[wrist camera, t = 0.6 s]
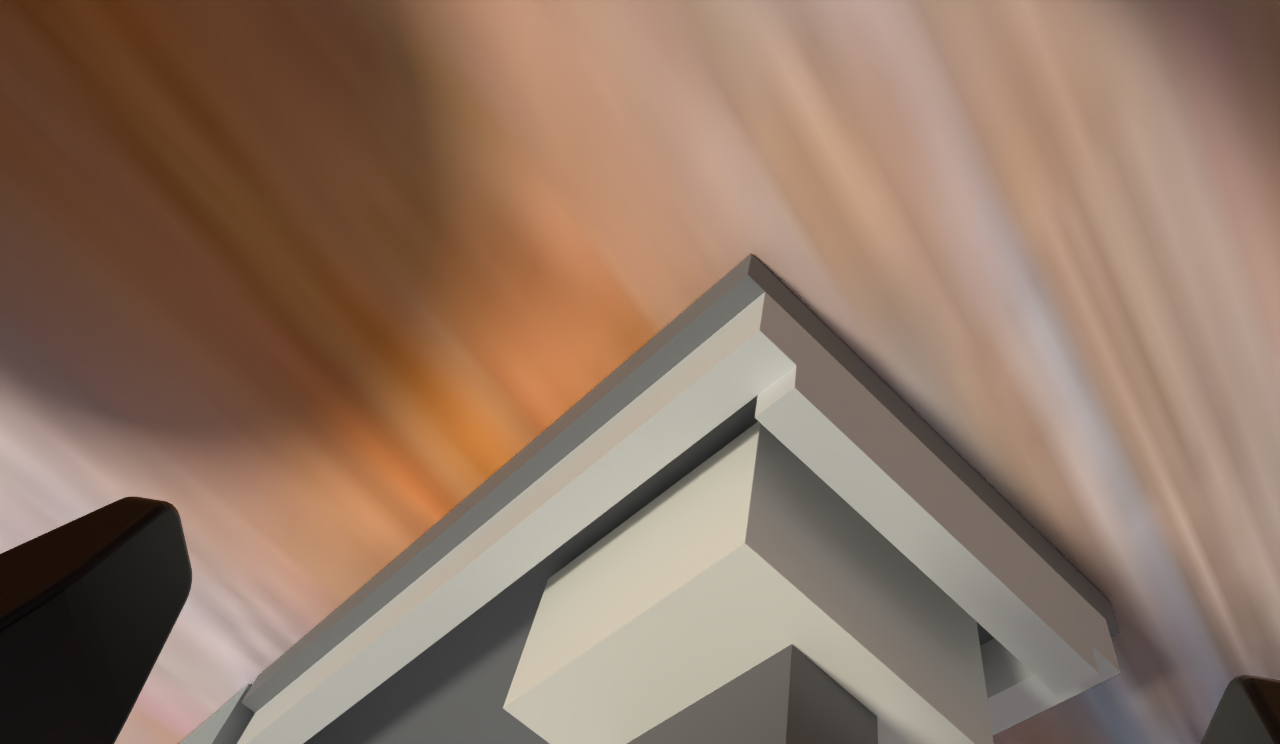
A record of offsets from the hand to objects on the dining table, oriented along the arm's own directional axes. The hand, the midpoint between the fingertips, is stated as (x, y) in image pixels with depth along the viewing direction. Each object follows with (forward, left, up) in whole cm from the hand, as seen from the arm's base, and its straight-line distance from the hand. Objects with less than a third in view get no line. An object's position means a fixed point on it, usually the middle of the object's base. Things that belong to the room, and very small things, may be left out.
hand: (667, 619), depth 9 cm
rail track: (-8, +12, -13) cm, 20 cm away
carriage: (-8, +8, -12) cm, 16 cm away
